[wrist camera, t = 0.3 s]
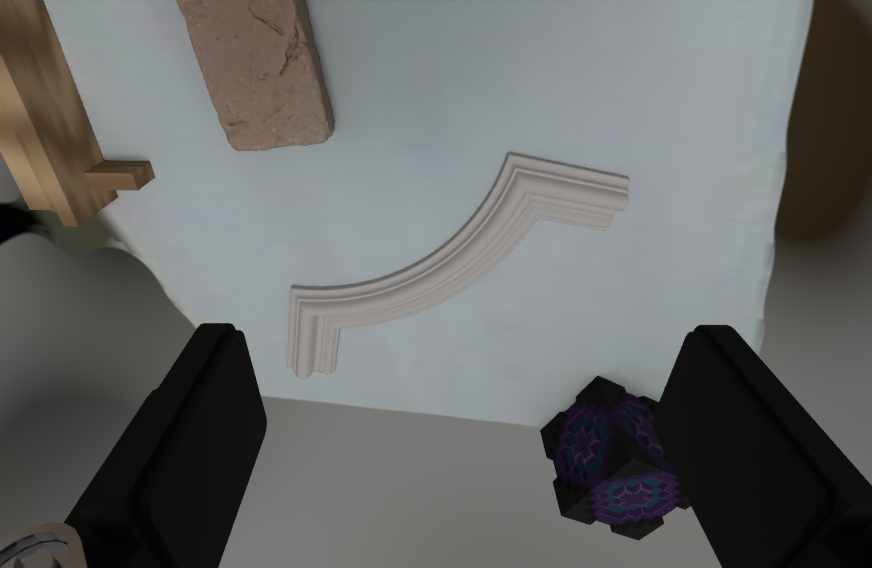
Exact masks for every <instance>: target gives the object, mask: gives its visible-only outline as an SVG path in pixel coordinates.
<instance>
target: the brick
mask: <svg viewBox="0 0 872 568" xmlns="http://www.w3.org/2000/svg"><path fill="white" fill-rule="evenodd" d="M177 4H178V6H179V9H180V11H181V13H182V14H183V16H184V17H185V20H186V23H187V27H188V33H189V36H190V39H191V42H192V45H193V48H194V51H195V54H196V57H197V60H198V63H199V65H200V68H201V70H202V73H203V76H204V79H205V83H206V86H207V89H208V91H209V94H210V97H211V100H212V103H213V105H214V108H215V110H216V111H217V113H218V118H219V121H220V124H221V126H222V128H223V130H224V131H225V133H226V136H227V140H228V142H229V143H230V145H231V146H232V148H234V149H235V150H238V151H250V150H252V151H257V150H268V149H271V148H277V147H285V146H291V145H302V146H306V145H312V144H319V143H323V142H325V141H327V139H328V137H330V136H332V134H333V131H334V123H335V121H334V118H333V110H332V107H331V103H330V100H329V96H328V93H327V90H326V87H325V85H324V83H323V77H322V73H321V66H320V58H319V55H318V52H317V49H316V47H315V45H314V40H313V30H312V26H311V23H310V20H309V15H308V10H307V7H306V3H305V0H177Z"/></svg>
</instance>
